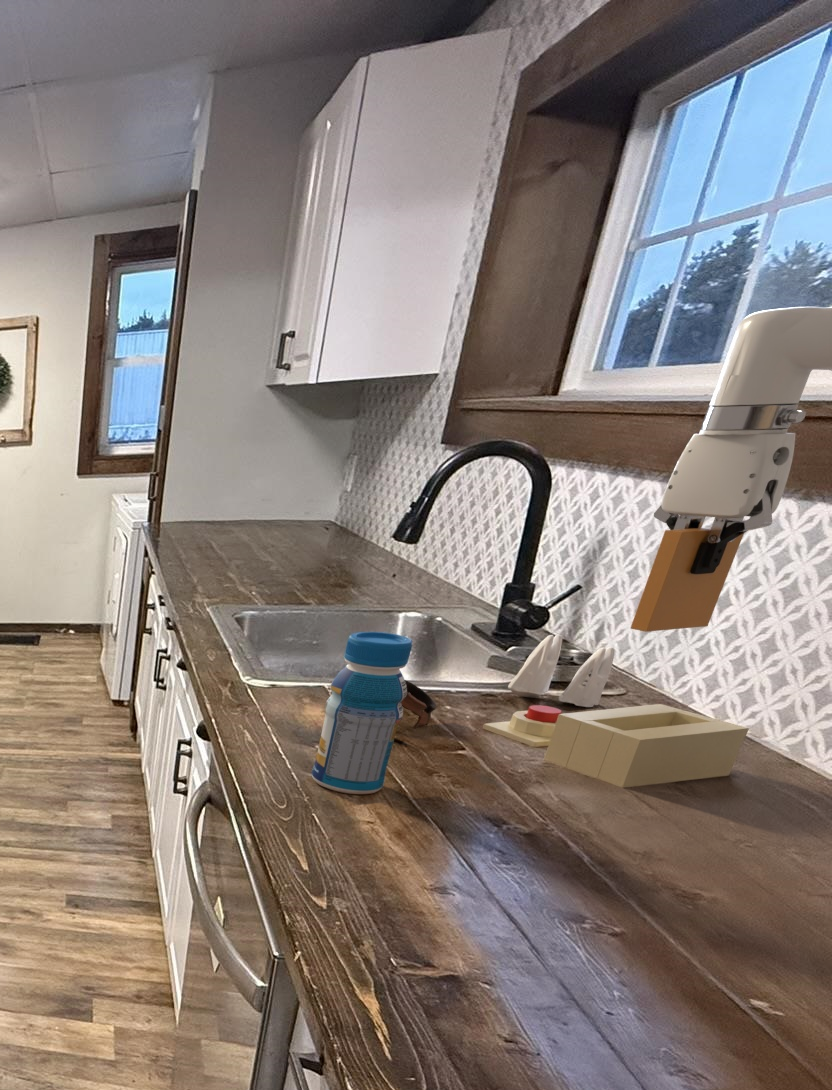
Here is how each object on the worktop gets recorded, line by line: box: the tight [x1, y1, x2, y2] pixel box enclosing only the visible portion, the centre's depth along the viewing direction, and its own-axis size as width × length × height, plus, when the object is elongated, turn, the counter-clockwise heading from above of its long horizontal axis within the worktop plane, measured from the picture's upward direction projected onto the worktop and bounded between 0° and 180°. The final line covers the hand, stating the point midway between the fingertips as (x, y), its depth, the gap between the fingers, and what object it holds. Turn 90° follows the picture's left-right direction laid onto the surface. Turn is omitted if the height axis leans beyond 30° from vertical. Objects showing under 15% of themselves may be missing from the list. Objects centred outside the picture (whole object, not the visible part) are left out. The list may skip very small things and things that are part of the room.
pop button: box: [526, 704, 563, 723], centre depth 119 cm, size 4×4×2 cm
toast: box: [630, 526, 745, 633], centre depth 109 cm, size 10×2×13 cm, turn 100°
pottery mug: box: [401, 679, 438, 728], centre depth 128 cm, size 12×10×8 cm
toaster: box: [543, 703, 750, 788], centre depth 107 cm, size 16×10×8 cm, turn 99°
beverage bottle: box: [311, 631, 413, 795], centre depth 106 cm, size 8×8×20 cm
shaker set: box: [507, 633, 616, 708], centre depth 135 cm, size 12×4×11 cm, turn 52°
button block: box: [482, 710, 556, 748], centre depth 120 cm, size 10×8×4 cm
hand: (690, 570), depth 109 cm, fingers closed on toast, 2 cm apart
